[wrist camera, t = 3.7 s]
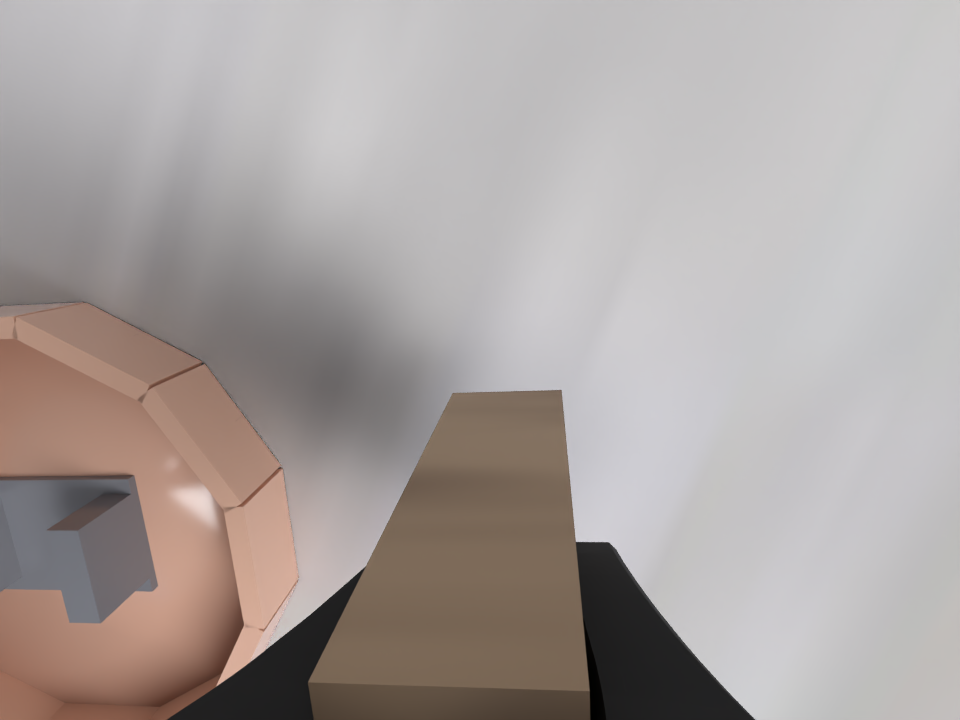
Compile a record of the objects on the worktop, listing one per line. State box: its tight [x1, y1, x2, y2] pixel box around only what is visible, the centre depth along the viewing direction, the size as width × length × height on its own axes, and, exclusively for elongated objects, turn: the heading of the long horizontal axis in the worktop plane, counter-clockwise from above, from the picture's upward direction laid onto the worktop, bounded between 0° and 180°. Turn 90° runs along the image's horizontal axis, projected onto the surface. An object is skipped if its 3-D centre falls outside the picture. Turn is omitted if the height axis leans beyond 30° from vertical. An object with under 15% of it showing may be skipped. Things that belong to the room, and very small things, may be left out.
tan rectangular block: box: [308, 390, 590, 720], centre depth 8 cm, size 5×2×7 cm, turn 4°
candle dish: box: [0, 302, 299, 720], centre depth 19 cm, size 15×15×3 cm
